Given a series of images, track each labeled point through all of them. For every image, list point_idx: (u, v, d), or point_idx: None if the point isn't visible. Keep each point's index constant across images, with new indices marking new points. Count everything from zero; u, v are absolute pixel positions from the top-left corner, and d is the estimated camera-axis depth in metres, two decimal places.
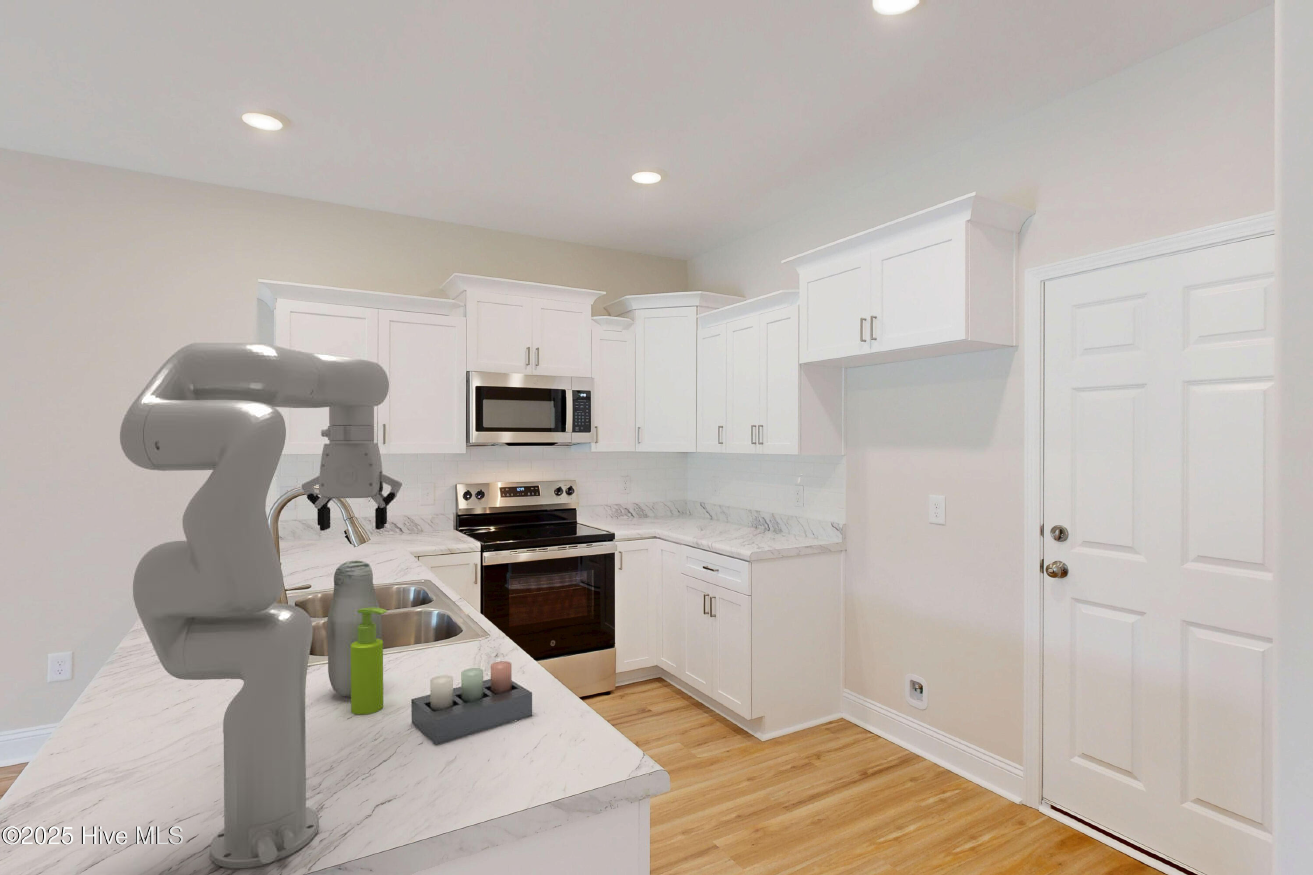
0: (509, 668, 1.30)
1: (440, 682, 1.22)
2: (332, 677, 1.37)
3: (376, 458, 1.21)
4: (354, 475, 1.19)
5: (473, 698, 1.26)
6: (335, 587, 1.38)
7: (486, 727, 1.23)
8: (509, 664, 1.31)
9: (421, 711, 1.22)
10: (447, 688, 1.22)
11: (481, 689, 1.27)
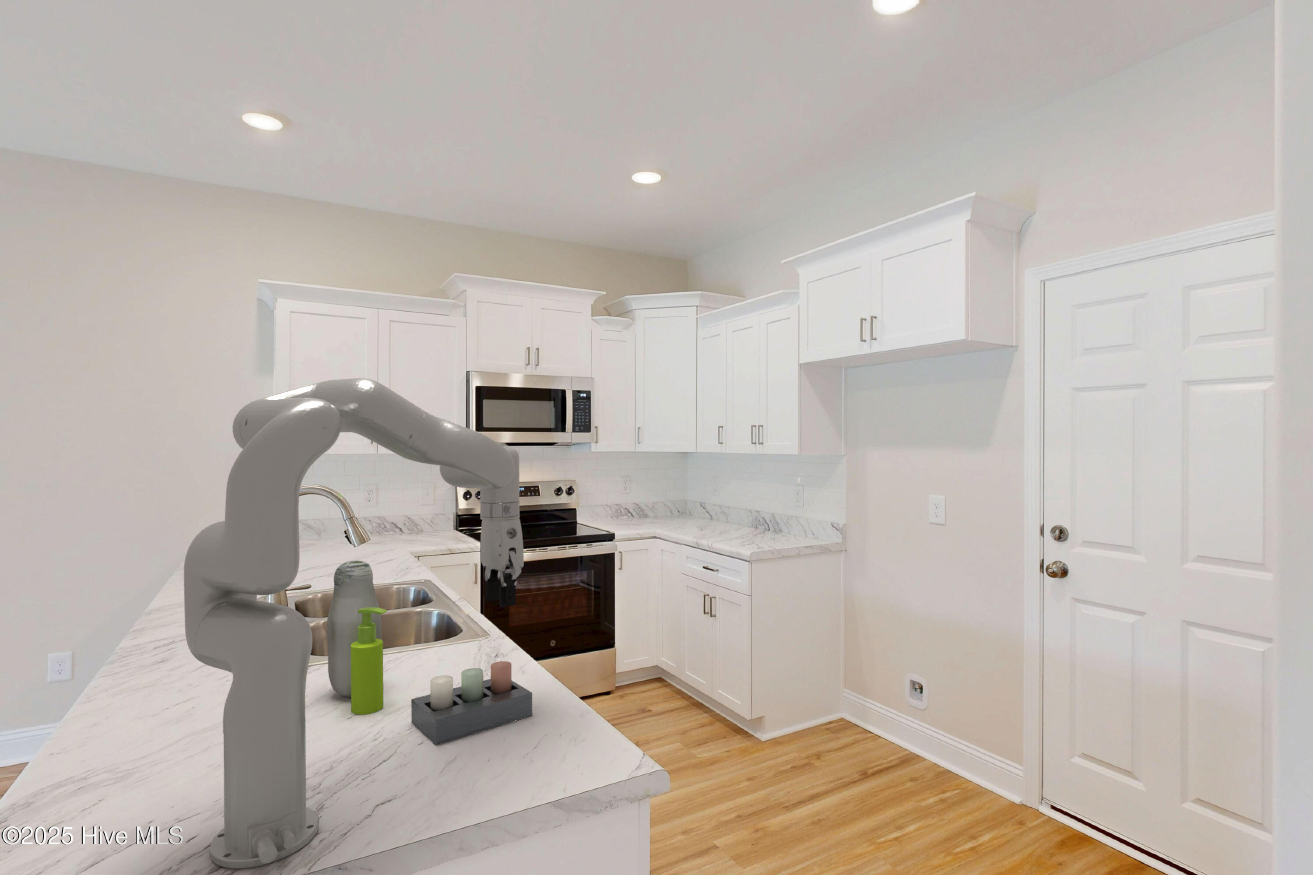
0: (509, 668, 1.30)
1: (440, 682, 1.22)
2: (332, 677, 1.37)
3: None
4: None
5: (473, 698, 1.26)
6: (335, 587, 1.38)
7: (486, 727, 1.23)
8: (509, 664, 1.31)
9: (421, 711, 1.22)
10: (447, 688, 1.22)
11: (481, 689, 1.27)
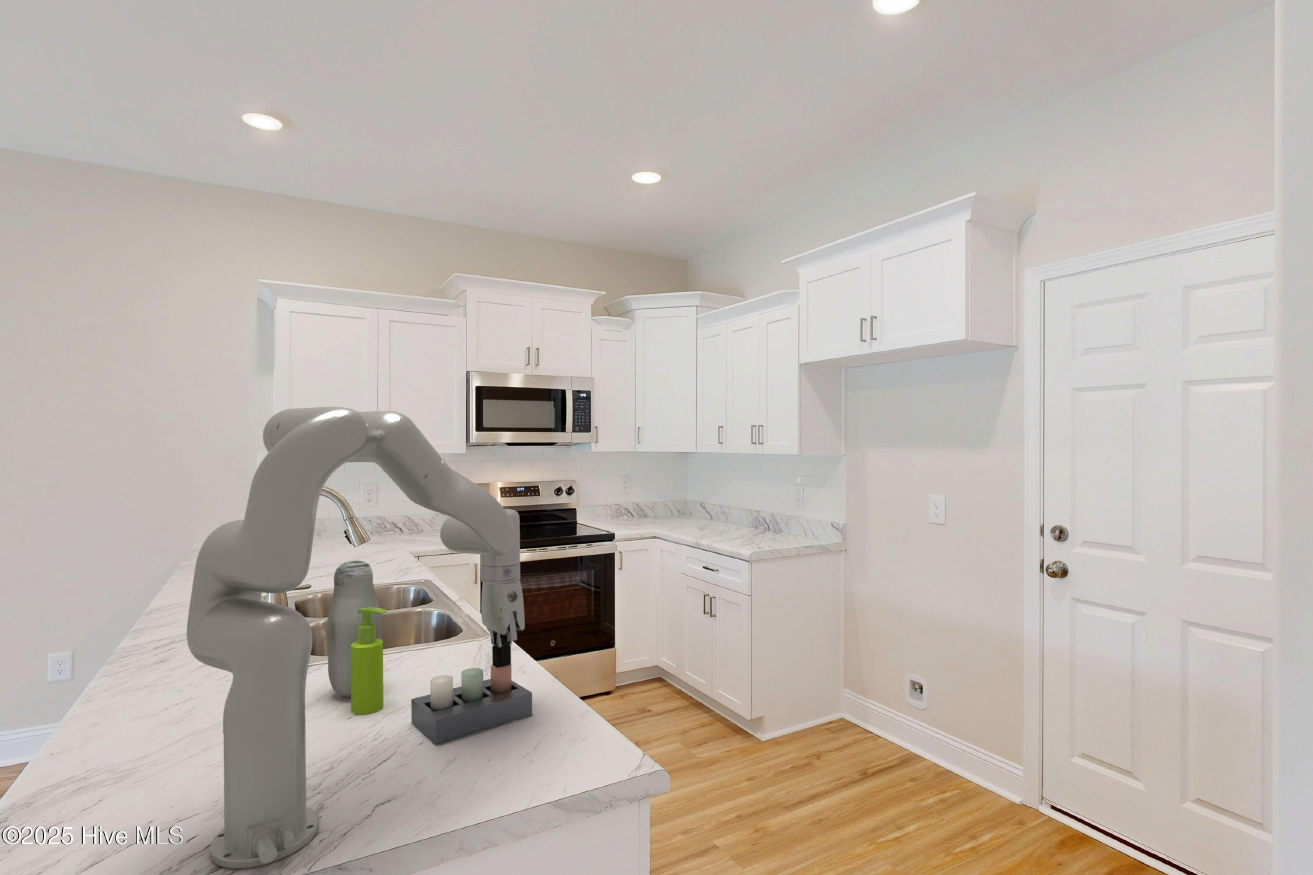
0: (509, 669, 1.30)
1: (440, 682, 1.22)
2: (332, 677, 1.37)
3: None
4: None
5: (473, 698, 1.26)
6: (335, 587, 1.38)
7: (486, 727, 1.23)
8: (509, 665, 1.31)
9: (421, 711, 1.22)
10: (447, 688, 1.22)
11: (481, 689, 1.27)
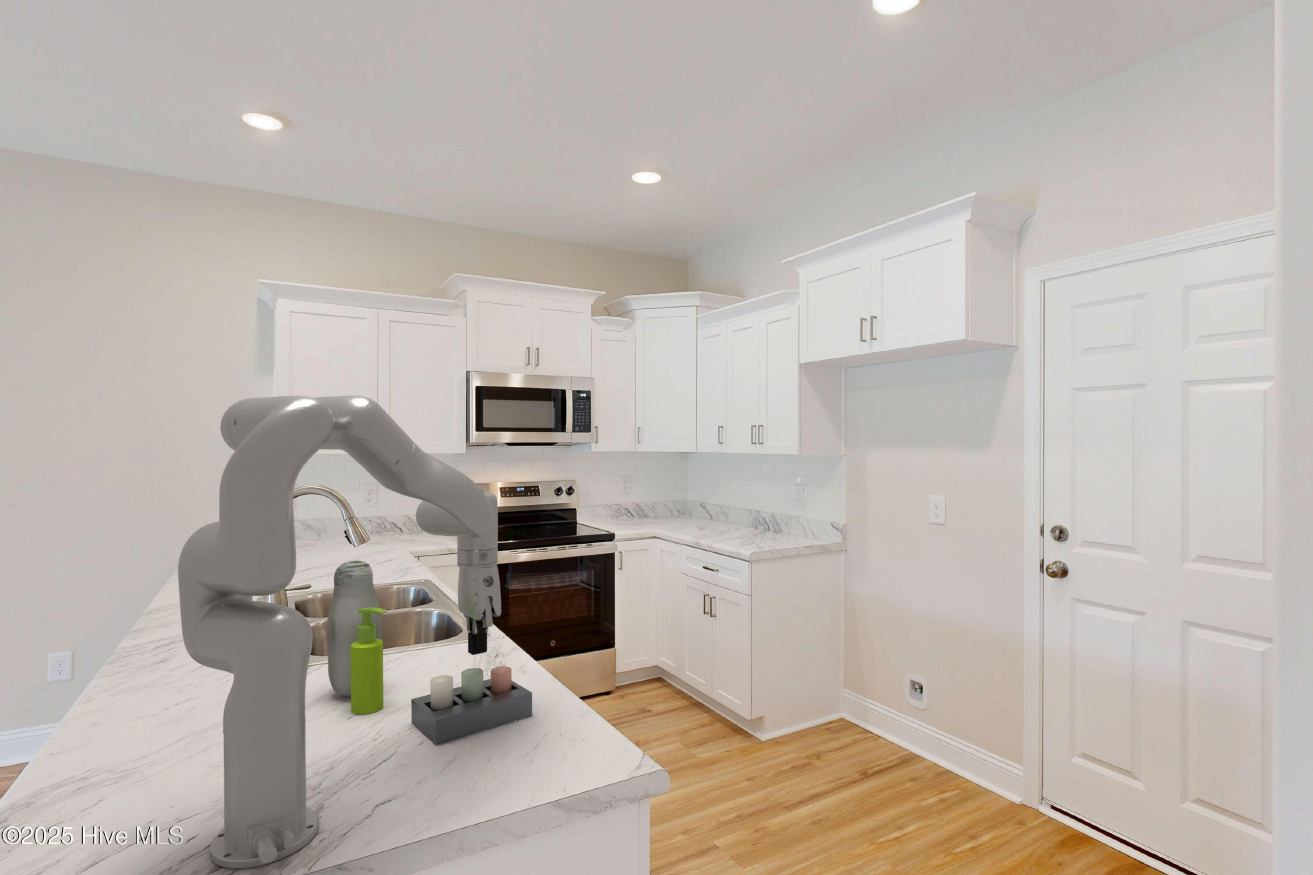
0: (509, 673, 1.30)
1: (440, 682, 1.22)
2: (332, 677, 1.37)
3: None
4: None
5: (473, 698, 1.26)
6: (335, 587, 1.38)
7: (486, 727, 1.23)
8: (509, 669, 1.31)
9: (421, 711, 1.22)
10: (447, 688, 1.22)
11: (481, 689, 1.27)
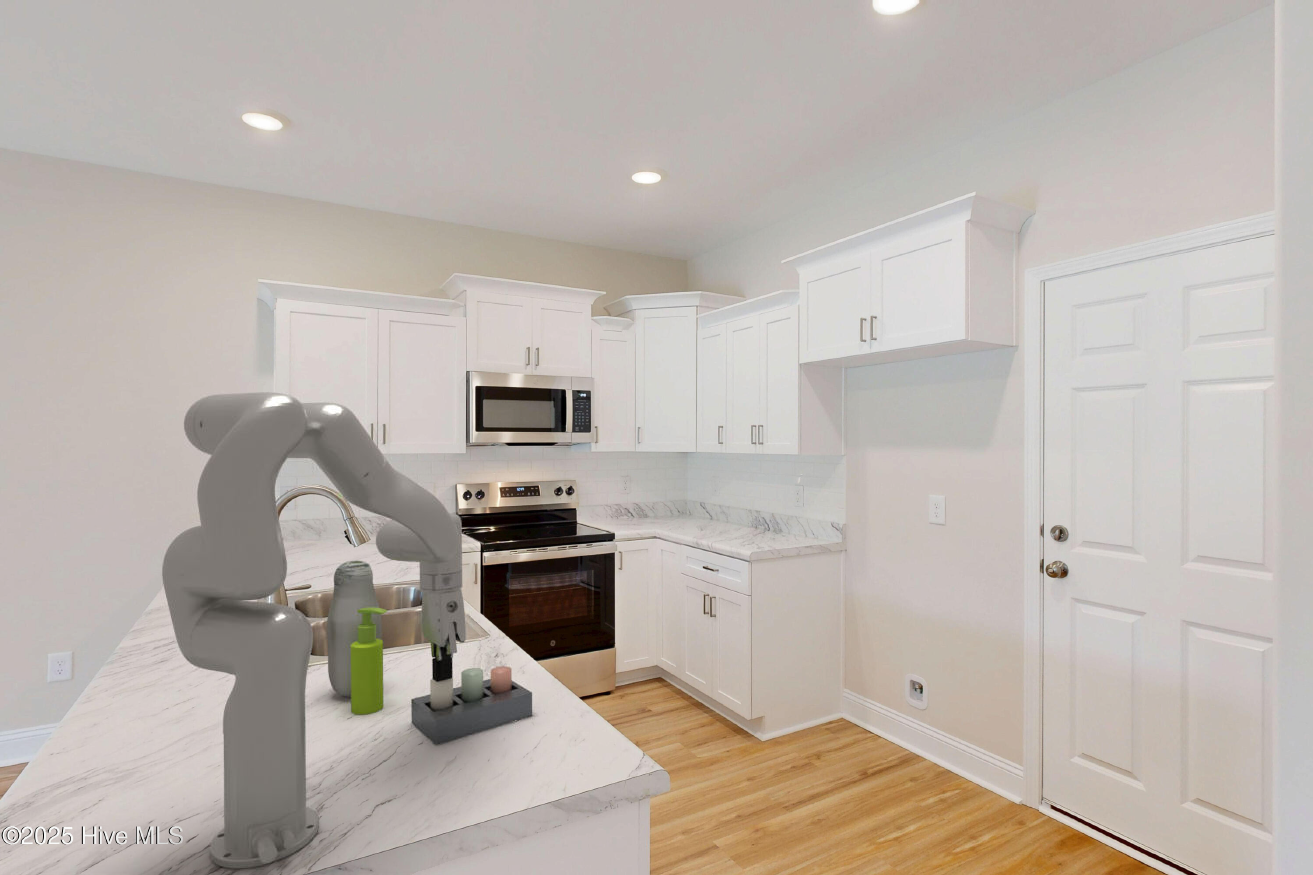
0: (509, 673, 1.30)
1: (440, 682, 1.22)
2: (332, 677, 1.37)
3: None
4: None
5: (473, 698, 1.26)
6: (335, 587, 1.38)
7: (486, 727, 1.23)
8: (509, 669, 1.31)
9: (421, 711, 1.22)
10: (447, 688, 1.22)
11: (481, 689, 1.27)
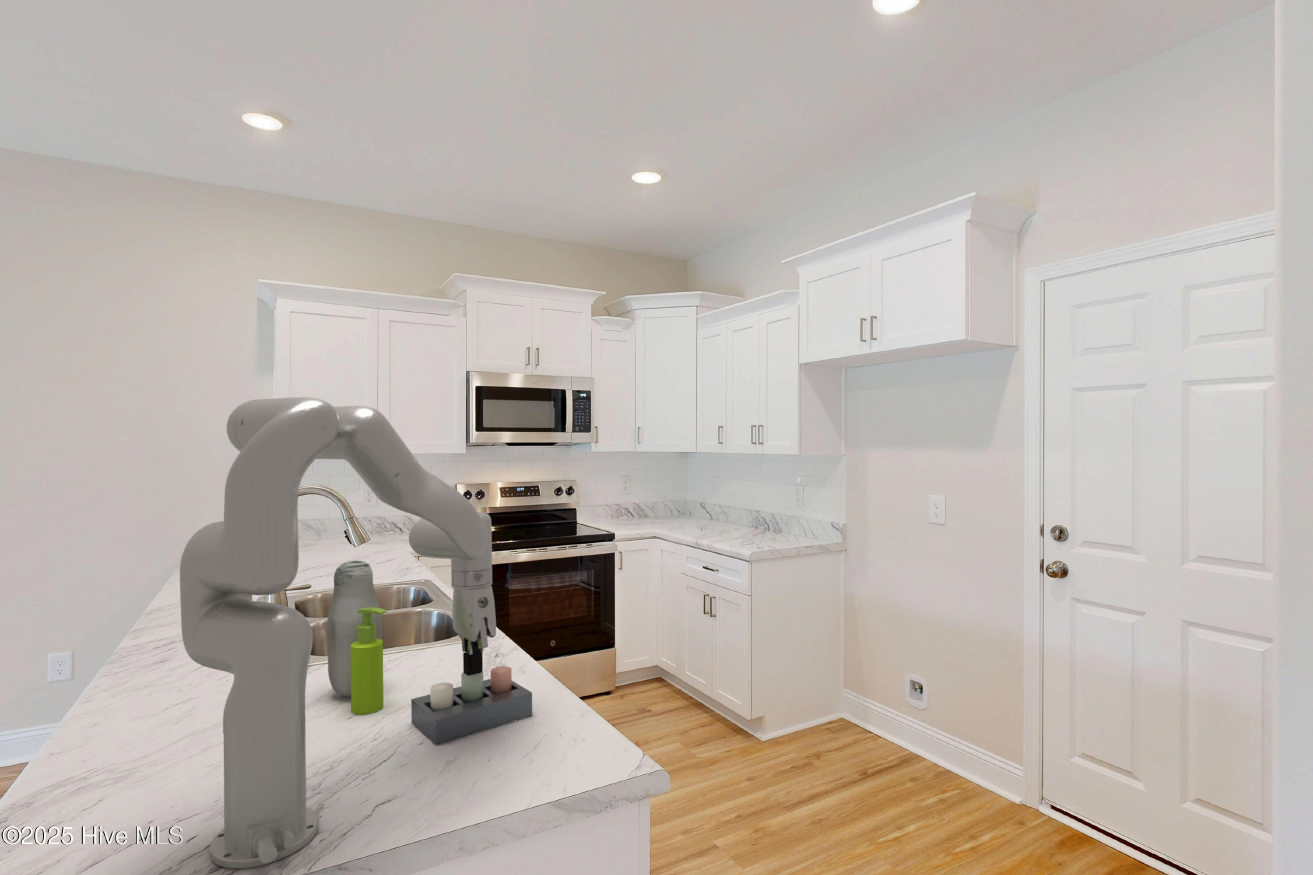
0: (509, 673, 1.30)
1: (440, 689, 1.22)
2: (332, 677, 1.37)
3: None
4: None
5: (473, 700, 1.26)
6: (335, 587, 1.38)
7: (486, 727, 1.23)
8: (509, 669, 1.31)
9: (421, 711, 1.22)
10: (447, 695, 1.22)
11: (481, 691, 1.27)
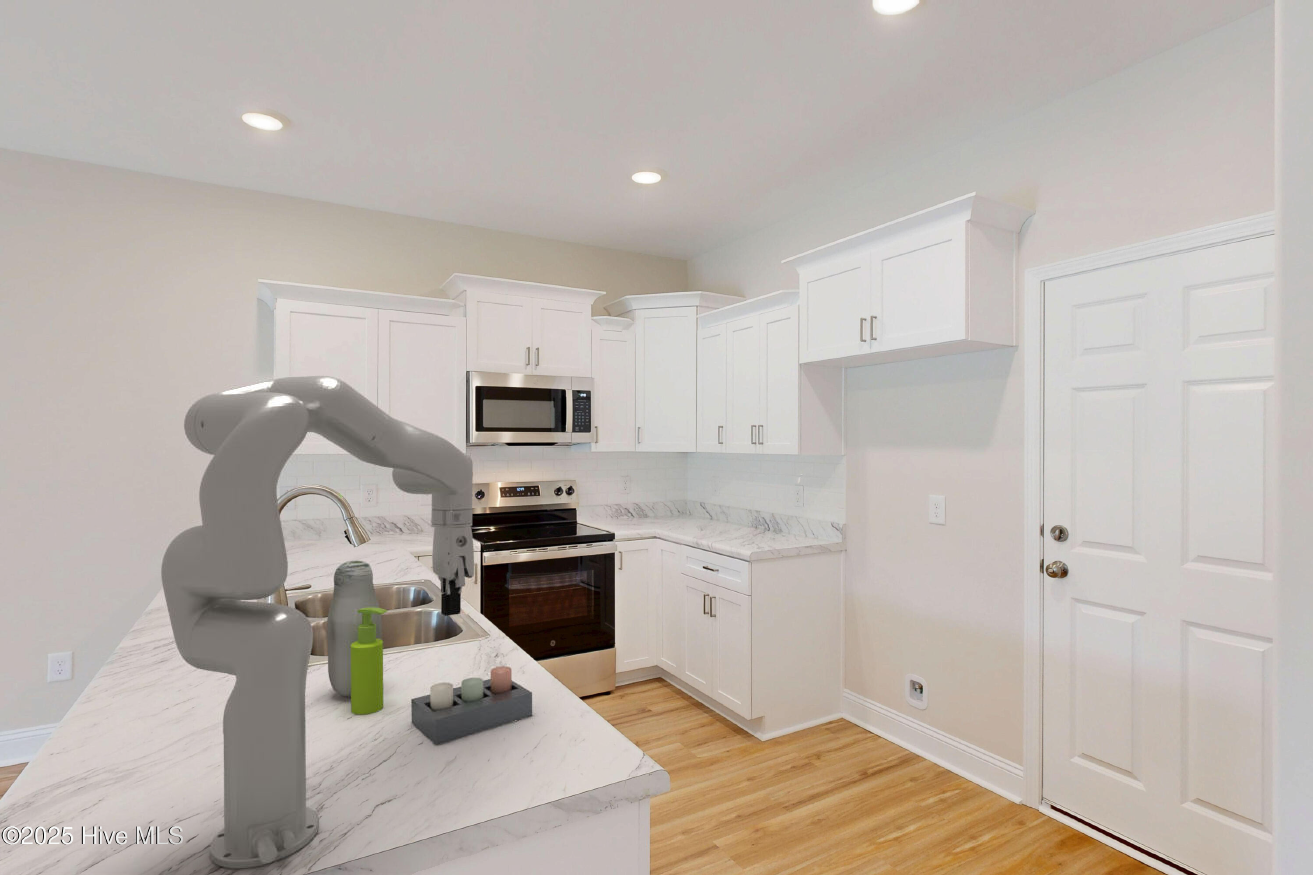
0: (509, 673, 1.30)
1: (440, 689, 1.22)
2: (332, 677, 1.37)
3: None
4: None
5: None
6: (335, 587, 1.38)
7: (486, 727, 1.23)
8: (509, 669, 1.31)
9: (421, 711, 1.22)
10: (447, 695, 1.22)
11: None
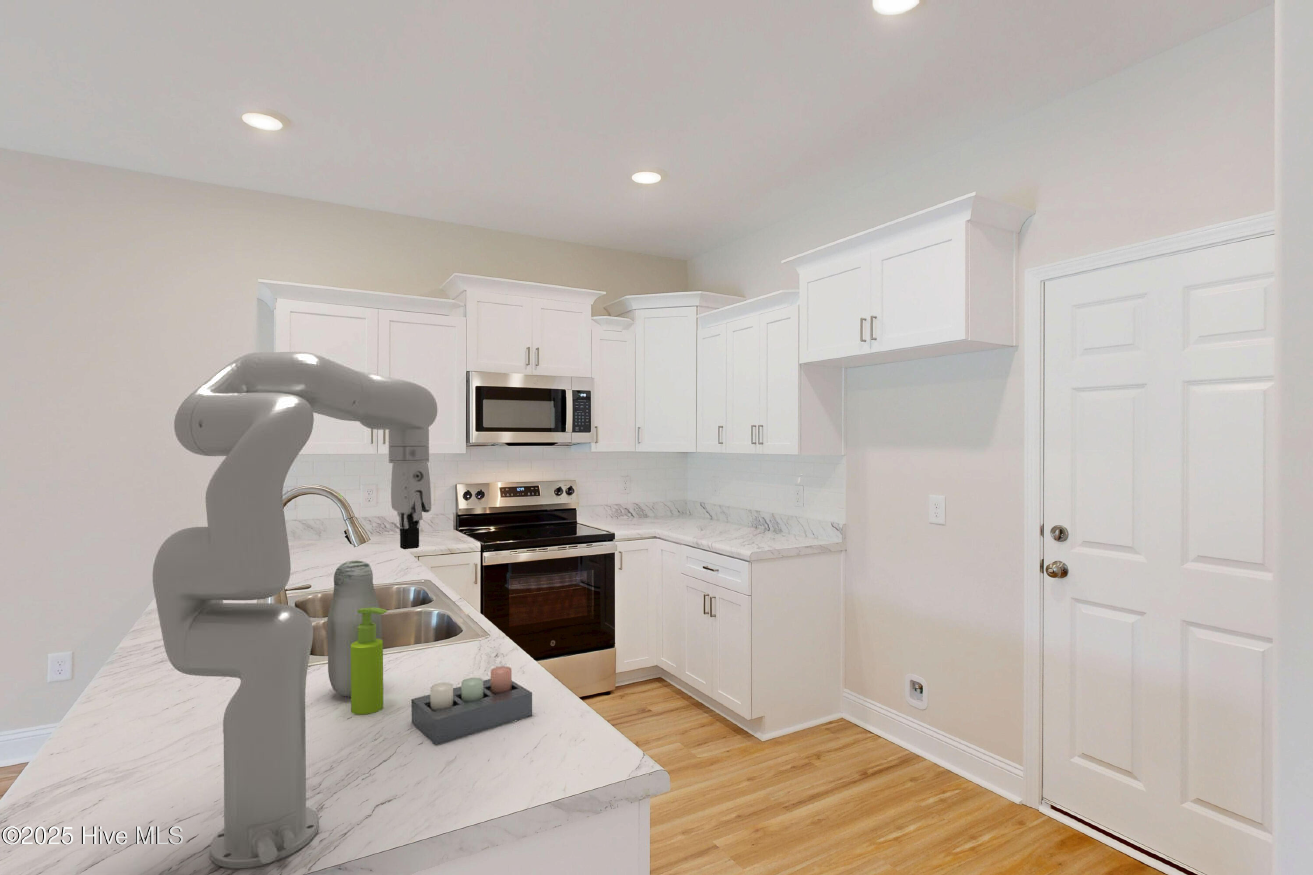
0: (509, 673, 1.30)
1: (440, 689, 1.22)
2: (332, 677, 1.37)
3: None
4: None
5: None
6: (335, 587, 1.38)
7: (486, 727, 1.23)
8: (509, 669, 1.31)
9: (421, 711, 1.22)
10: (447, 695, 1.22)
11: None
